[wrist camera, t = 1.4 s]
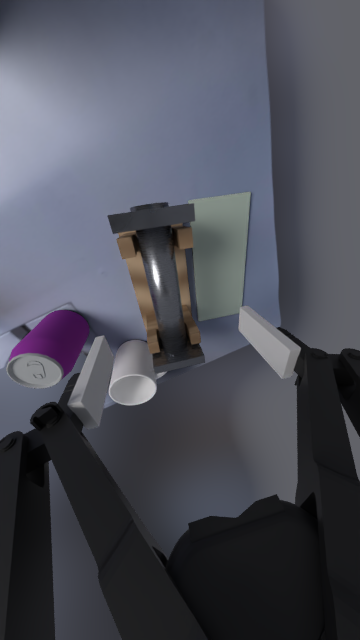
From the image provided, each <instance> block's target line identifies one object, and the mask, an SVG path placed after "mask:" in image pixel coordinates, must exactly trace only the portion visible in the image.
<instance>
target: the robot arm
mask: <svg viewBox="0 0 360 640" xmlns="http://www.w3.org/2000/svg"><path fill="white" fill-rule="evenodd" d="M239 331H240V332H241V333H242V334H243V335H244V337H245V338H246V339H247V340H248V341H249V342H250V343H251V344H252V346H253V347H254V348H255V349H256V350H257V351H258V352H259V353H260V354H261V356H262V357H263V358H264V359H265V360H266V361H267V362H268V363H269V365H270V366H271V367H272V368H273V369H274V370H275V371H276V372H277V374H278V375H279V376H280V377H281V378H282V379H285V378H288V377H292V375H293V372H294V371H295V372H296V373H297V374H298V376H297V379H296V382H295V385H297V442H298V443H297V446H298V447H297V448H298V484H297V490H296V497H295V504H292V503H290V502H287V501H283V500H279V498H278V496H277V494H276V495H273V496H270V497H267V498H264V499H261V500H258V501H256V502H254V503H253V504H252V505H251V506H250V507H249V508H248V509H246V510H245V511H244V512H243V513H242V514H241V515H240V516H239V517H237V518H229V517H217V516H209V517H206V518H203V519H200V520H197V521H194V522H191V523H189V524H188V525H189V529H188V530H187V531H186V532H185V533H184V534H183V535H182V536H181V537H180V539H179V540H178V542H177V543H176V545H175V546H174V548H173V551H172V552H171V554H170V557H169V559H168V558H167V556H166V555H165V553H164V552H163V550H162V549H161V547H160V546H159V544H158V543H157V542H156V540H155V539H154V538H153V536H152V535H151V534H150V532H149V531H148V529H147V528H146V527H145V525H144V524H143V522H142V521H141V519H140V518H139V516H138V515H137V513H136V512H135V510H134V509H133V508H132V506H131V504H130V503H129V501H128V500H127V498H126V497H125V495H124V494H123V492H122V491H121V489H120V488H119V487H118V485H117V483H116V482H115V480H114V479H113V477H112V476H111V474H110V473H109V471H108V470H107V468H106V467H105V465H104V464H103V462H102V461H101V460H100V458H99V457H98V455H97V454H96V452H95V451H94V449H93V448H92V446H91V445H90V443H89V442H88V440H87V439H86V437H85V436H84V434H83V433H82V432H81V431H82V428H83V425H84V426H85V427H86V429H91V428H95V427H99V425H100V420H101V415H102V411H103V406H104V402H105V397H106V393H107V388H108V384H109V379H110V375H111V370H112V365H113V361H114V356H113V354H112V352H111V349H110V347H109V345H108V343H107V341H106V338H105V336H99V337H95V340H94V342H93V345H92V347H91V349H90V352H89V354H88V356H87V359H86V362H85V364H84V366H83V368H82V371H81V373H77V374H74V375H73V376H72V377H71V379H70V380H69V381H68V384H67V385H66V388H65V390H64V393H63V394H62V396H61V398H60V400H59V402H58V404H57V403H56V402H50V403H46V404H45V405H43V406H41V407H40V408H39V409H38V410H36V412H35V413H34V414H33V415H32V417H31V419H30V423H31V424H32V425H33V426H34V427H35V428H36V429H33V430H31V431H30V432H28V433H26V434H23V433H22V432H20V431H16V432H13V433H11V434H8V435H7V436H6V437H4V438H3V439H2V440H1V441H0V640H55V624H54V598H53V571H52V544H51V517H50V492H49V491H50V490H49V463H48V461H50V460H52V462H53V464H54V466H55V469H56V471H57V473H58V475H59V478H60V480H61V482H62V485H63V487H64V489H65V491H66V493H67V496H68V499H69V501H70V503H71V505H72V508H73V510H74V512H75V515H76V517H77V519H78V521H79V524H80V526H81V528H82V531H83V533H84V535H85V537H86V540H87V542H88V544H89V547H90V549H91V551H92V554H93V556H94V558H95V560H96V563H97V566H98V570H99V573H98V579H99V583H100V586H101V589H102V592H103V595H104V597H105V599H106V602H107V604H108V607H109V609H110V611H111V614H112V616H113V619H114V621H115V623H116V626H117V628H118V631H119V633H120V635H121V638H122V640H360V481H359V479H358V477H357V473H356V469H355V464H354V460H353V455H352V451H351V447H350V442H349V438H348V433H347V429H346V424H345V420H344V415H343V411H342V406H343V407H344V409H345V411H346V413H347V415H348V417H349V418H350V420H351V422H352V424H353V426H354V427H355V430H356V431H357V433H358V435H359V437H360V351H359V350H355V349H350V348H349V349H343V350H342V352H341V354H327V353H326V352H324V351H322V350H320V349H314V348H309V347H308V346H307V345H305V344H304V343H303V342H301V341H300V340H299V339H297V338H295V336H293V335H291V333H289V332H288V331H287V330H285V329H282V328H280V327H278V328H275V327H274V326H273V325H271V324H270V323H269V322H268V321H266V320H265V319H264V318H263V317H261V316H260V315H259V314H257V313H256V312H255V311H254V310H252V309H251V308H250V307H249V306H243V307H240V315H239ZM341 404H342V406H341Z"/></svg>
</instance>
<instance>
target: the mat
mask: <svg viewBox="0 0 360 640" xmlns="http://www.w3.org/2000/svg"><path fill="white" fill-rule="evenodd" d="M250 195H251V192H245V193H238V194H231V195H224V196H216V197H209V198H202V199H195V200H189V201H188V204H191V203H194V209H195V221H193V222H190V227H192V235H193V248H192V253H193V265H194V277H195V289H196V302H197V314H198V321H199V322H200V321H205V320H209V319H214V318H219V317H223V316H228V315H233V314H237V313H240V307H242V298H243V285H244V272H245V259H246V246H247V233H248V221H249V208H250Z"/></svg>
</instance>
